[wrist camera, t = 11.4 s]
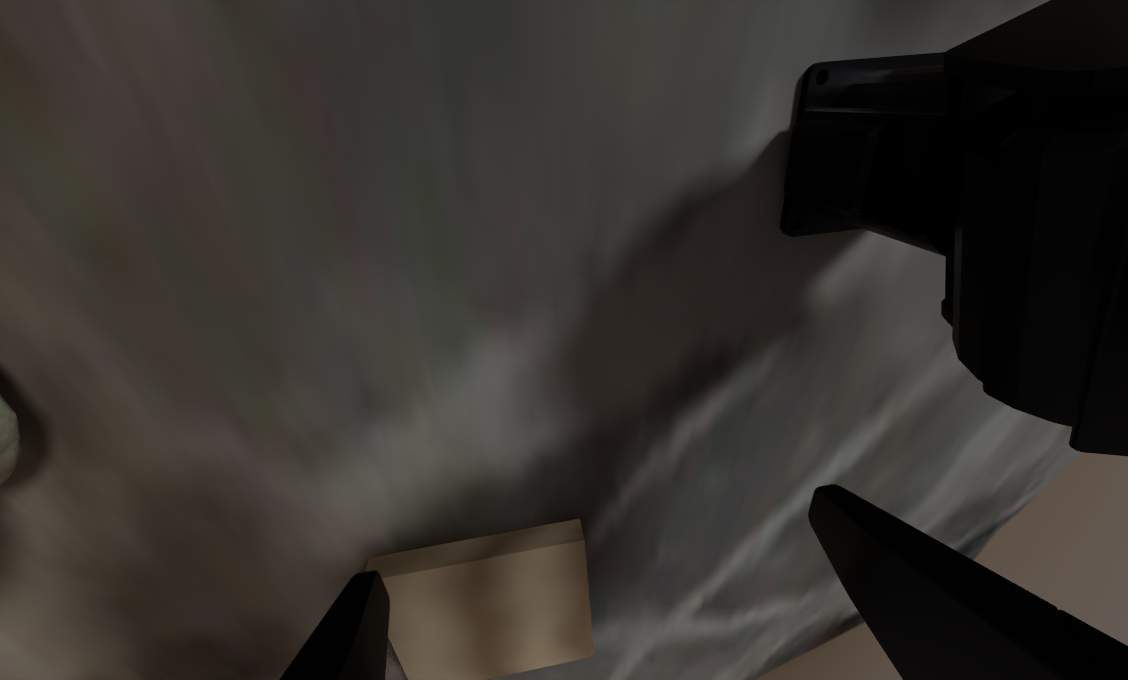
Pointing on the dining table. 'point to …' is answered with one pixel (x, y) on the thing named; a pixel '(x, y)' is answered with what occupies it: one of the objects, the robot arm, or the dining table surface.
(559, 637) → the oak block
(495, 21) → the dining table surface
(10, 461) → the white eared plush toy
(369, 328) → the dining table surface
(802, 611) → the dining table surface
